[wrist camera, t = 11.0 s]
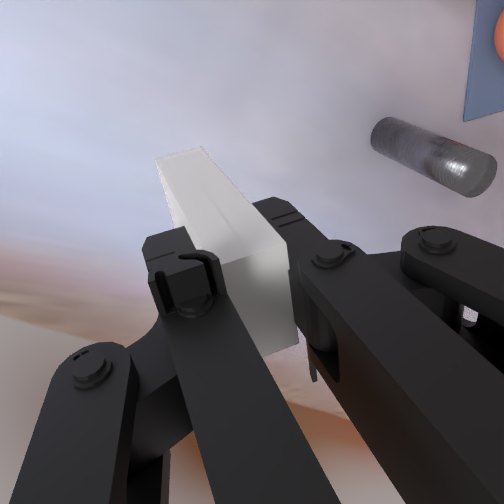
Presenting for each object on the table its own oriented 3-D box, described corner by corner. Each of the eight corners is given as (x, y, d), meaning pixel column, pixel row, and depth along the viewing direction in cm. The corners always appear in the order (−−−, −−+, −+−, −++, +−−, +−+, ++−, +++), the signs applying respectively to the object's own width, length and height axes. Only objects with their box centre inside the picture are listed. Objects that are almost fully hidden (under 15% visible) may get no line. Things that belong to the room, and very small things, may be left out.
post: (370, 156, 33) (457, 202, 26) (370, 122, 31) (462, 161, 24) (400, 147, 33) (493, 190, 26) (401, 113, 32) (500, 148, 25)
